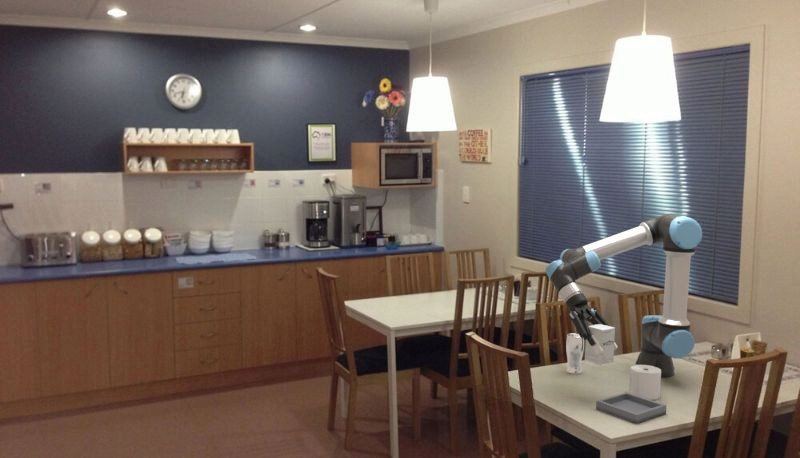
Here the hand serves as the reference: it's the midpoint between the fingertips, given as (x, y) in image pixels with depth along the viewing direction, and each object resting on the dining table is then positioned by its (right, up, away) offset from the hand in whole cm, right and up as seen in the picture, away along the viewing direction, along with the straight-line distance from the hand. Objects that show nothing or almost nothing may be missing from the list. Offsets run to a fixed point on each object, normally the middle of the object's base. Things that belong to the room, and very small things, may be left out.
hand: (607, 350), depth 257 cm
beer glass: (-3, -15, +36) cm, 39 cm away
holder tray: (+6, -19, -8) cm, 22 cm away
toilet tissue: (+16, -18, +8) cm, 26 cm away
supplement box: (-2, -4, +3) cm, 6 cm away
